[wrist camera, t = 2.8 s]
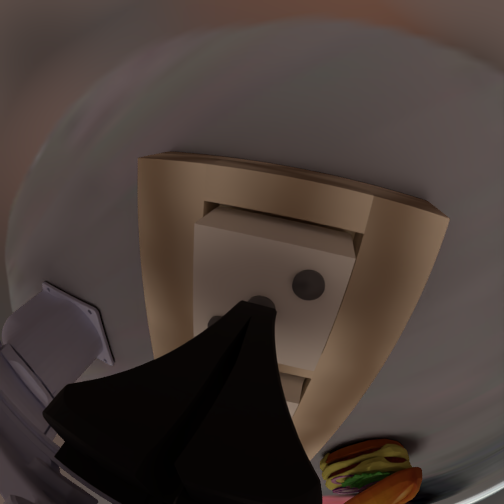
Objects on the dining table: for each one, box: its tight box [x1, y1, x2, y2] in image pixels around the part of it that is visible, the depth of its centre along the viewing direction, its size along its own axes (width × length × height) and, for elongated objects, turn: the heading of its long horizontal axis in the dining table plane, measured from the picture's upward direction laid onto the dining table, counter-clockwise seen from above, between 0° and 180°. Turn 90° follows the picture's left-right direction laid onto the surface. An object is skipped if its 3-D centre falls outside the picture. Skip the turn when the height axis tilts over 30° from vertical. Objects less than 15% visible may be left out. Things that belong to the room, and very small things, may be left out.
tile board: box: [138, 151, 450, 460], centre depth 18 cm, size 14×28×3 cm, turn 173°
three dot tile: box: [193, 206, 356, 371], centre depth 12 cm, size 6×6×3 cm
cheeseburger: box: [320, 439, 422, 504], centre depth 18 cm, size 10×11×10 cm
